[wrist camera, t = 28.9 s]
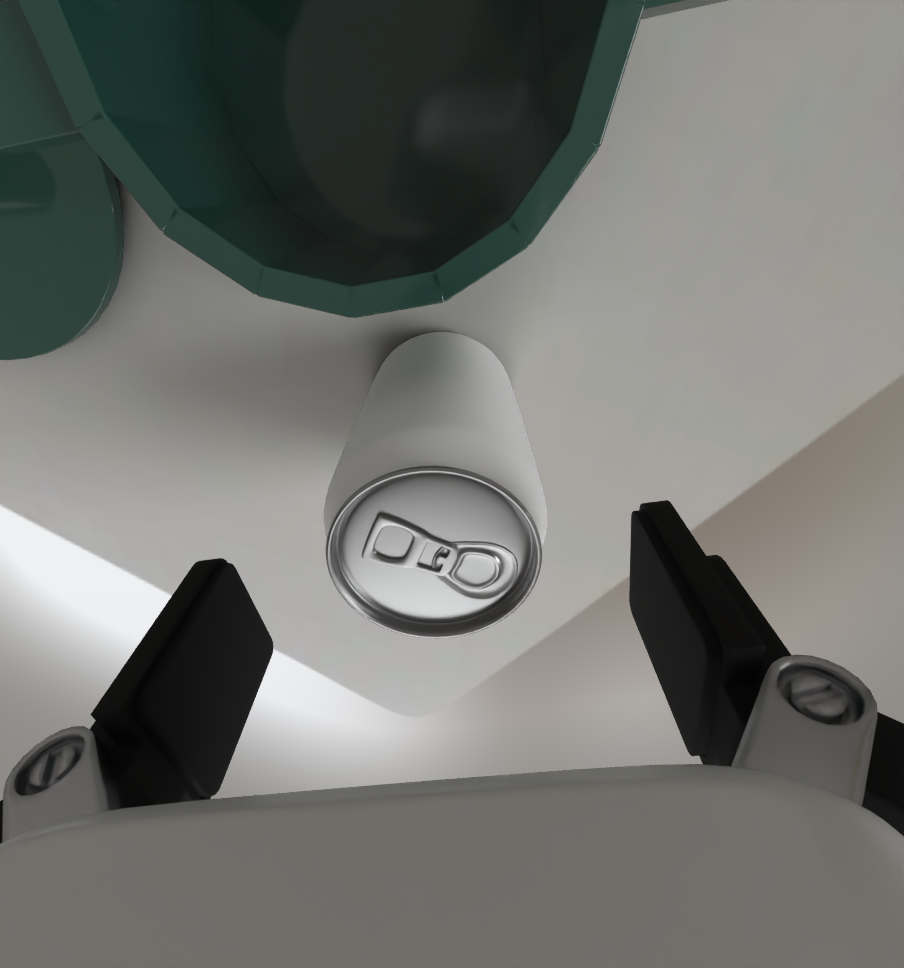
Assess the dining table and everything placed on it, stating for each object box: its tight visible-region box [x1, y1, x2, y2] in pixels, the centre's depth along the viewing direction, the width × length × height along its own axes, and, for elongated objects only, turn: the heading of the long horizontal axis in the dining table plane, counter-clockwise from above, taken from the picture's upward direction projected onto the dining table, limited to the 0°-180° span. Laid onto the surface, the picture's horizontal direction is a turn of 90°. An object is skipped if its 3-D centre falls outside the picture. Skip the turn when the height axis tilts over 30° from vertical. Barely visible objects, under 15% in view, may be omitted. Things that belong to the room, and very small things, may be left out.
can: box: [324, 332, 547, 638], centre depth 18 cm, size 6×6×12 cm
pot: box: [0, 0, 728, 318], centre depth 14 cm, size 13×18×8 cm
